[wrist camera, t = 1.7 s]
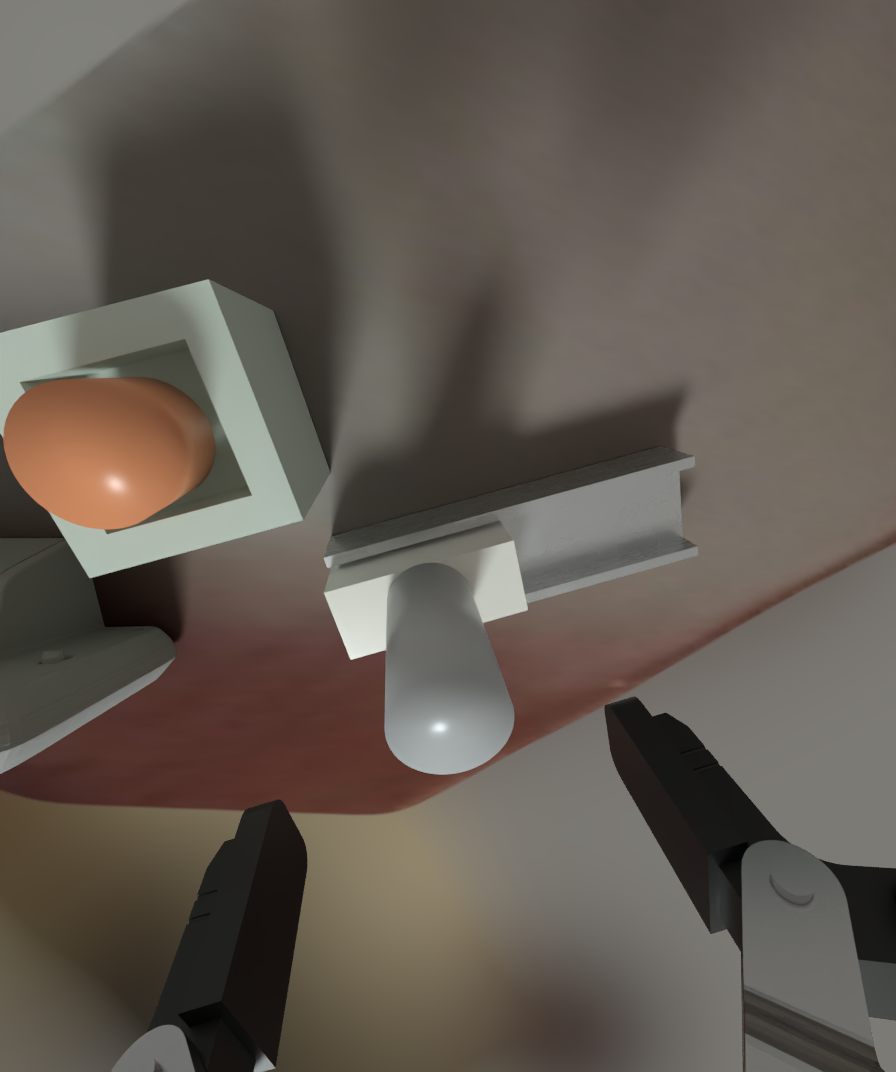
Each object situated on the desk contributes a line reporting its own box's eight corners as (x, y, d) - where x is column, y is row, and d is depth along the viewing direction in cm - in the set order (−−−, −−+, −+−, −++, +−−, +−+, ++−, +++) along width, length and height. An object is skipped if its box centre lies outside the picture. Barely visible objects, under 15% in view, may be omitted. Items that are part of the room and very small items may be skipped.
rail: (660, 446, 22) (694, 456, 20) (666, 536, 24) (698, 555, 22) (331, 536, 22) (323, 557, 20) (362, 620, 24) (359, 650, 21)
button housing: (273, 310, 18) (208, 278, 12) (330, 472, 21) (303, 520, 14) (105, 354, 18) (-54, 346, 12) (183, 512, 21) (89, 578, 14)
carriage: (498, 517, 21) (581, 632, 12) (512, 584, 22) (597, 733, 13) (331, 563, 21) (285, 716, 12) (355, 627, 22) (331, 809, 13)
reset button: (183, 362, 13) (126, 361, 10) (234, 480, 14) (197, 508, 11) (60, 394, 13) (-32, 402, 10) (123, 510, 14) (57, 545, 11)
